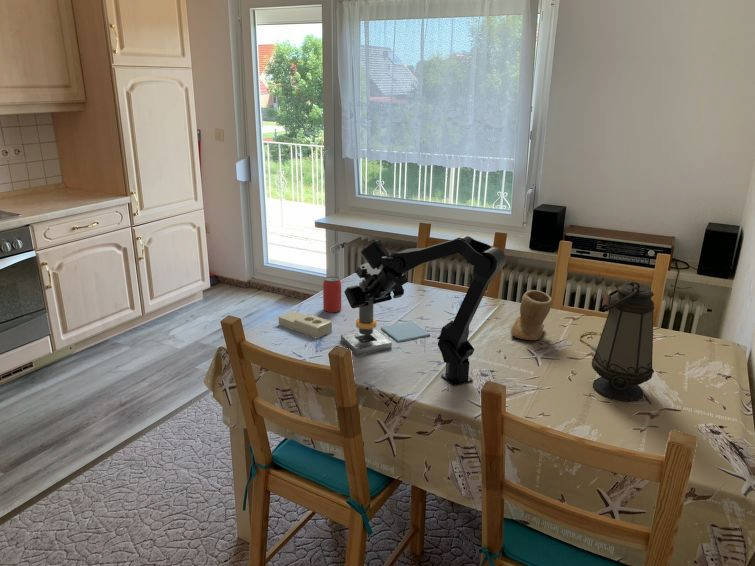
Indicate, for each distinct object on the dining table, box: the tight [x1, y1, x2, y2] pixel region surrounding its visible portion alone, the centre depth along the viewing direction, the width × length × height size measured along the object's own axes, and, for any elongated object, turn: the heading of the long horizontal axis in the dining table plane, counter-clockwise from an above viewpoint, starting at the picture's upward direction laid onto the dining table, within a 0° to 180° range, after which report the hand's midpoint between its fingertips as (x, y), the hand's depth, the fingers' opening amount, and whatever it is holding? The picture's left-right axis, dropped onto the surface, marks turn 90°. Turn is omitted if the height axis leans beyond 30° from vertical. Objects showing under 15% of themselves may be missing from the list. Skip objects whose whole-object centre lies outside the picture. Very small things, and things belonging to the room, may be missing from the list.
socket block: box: [340, 328, 393, 356], centre depth 172 cm, size 12×12×2 cm
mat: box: [380, 320, 431, 343], centre depth 182 cm, size 12×12×1 cm
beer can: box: [322, 275, 342, 313], centre depth 198 cm, size 7×7×12 cm
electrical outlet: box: [278, 310, 333, 339], centre depth 184 cm, size 7×4×18 cm
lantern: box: [591, 280, 655, 403], centre depth 143 cm, size 18×15×30 cm
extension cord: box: [579, 331, 602, 352], centre depth 176 cm, size 12×16×2 cm
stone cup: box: [510, 289, 553, 341], centre depth 180 cm, size 15×12×15 cm
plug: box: [355, 278, 377, 335], centre depth 168 cm, size 6×6×17 cm
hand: (363, 304), depth 169 cm, fingers closed on plug, 4 cm apart
